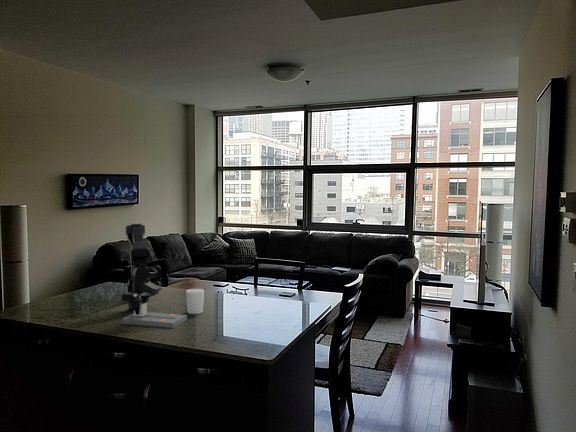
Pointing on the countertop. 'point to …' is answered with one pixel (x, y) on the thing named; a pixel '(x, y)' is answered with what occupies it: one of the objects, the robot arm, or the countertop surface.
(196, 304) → the white cup
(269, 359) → the countertop surface
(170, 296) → the countertop surface
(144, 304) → the fader cap
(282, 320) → the countertop surface
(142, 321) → the slider track base
